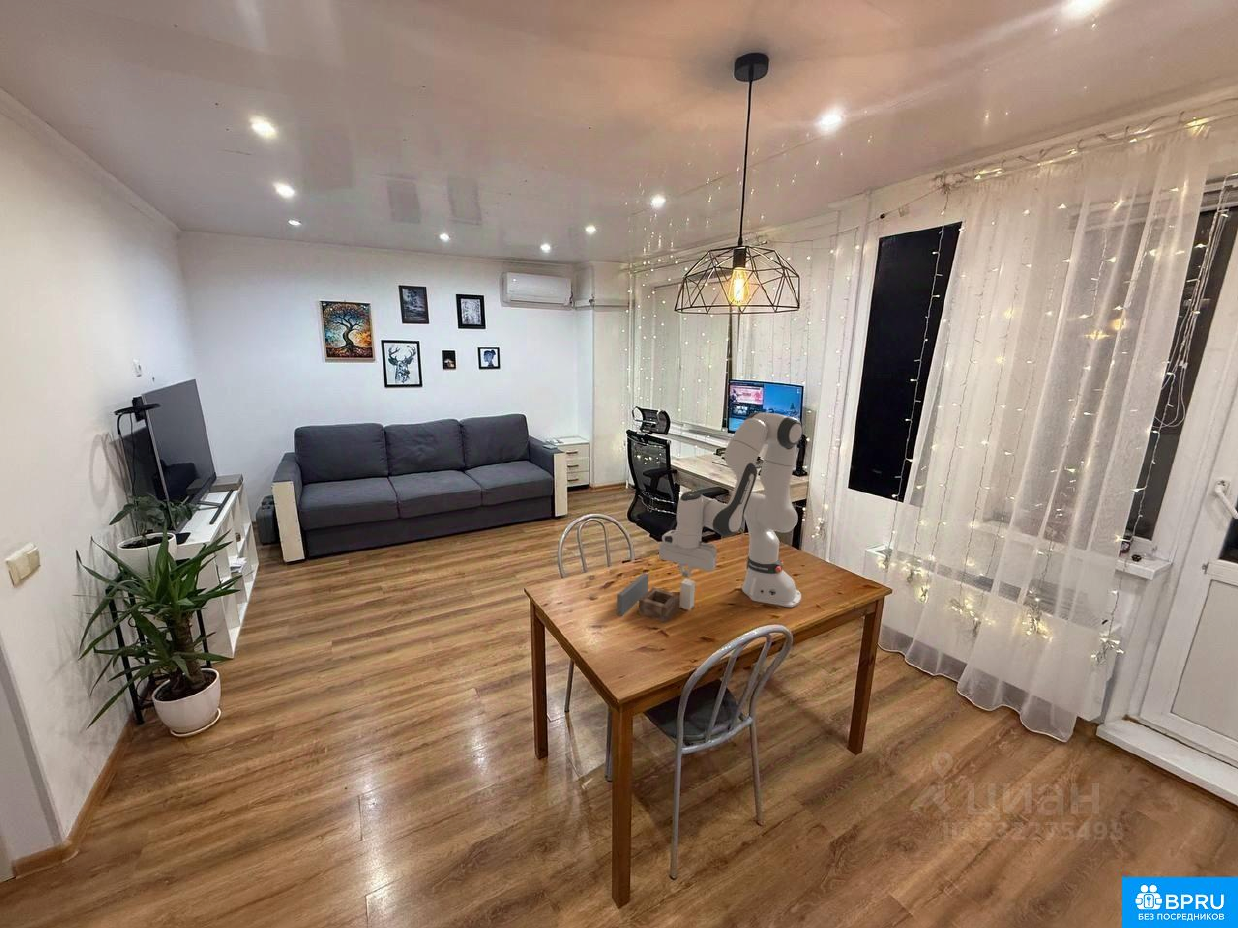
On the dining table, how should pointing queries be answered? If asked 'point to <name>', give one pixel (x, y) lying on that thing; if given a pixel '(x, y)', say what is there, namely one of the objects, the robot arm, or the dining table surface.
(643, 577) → the wall
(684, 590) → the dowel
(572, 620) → the dining table surface
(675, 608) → the brown square open box
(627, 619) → the dining table surface
